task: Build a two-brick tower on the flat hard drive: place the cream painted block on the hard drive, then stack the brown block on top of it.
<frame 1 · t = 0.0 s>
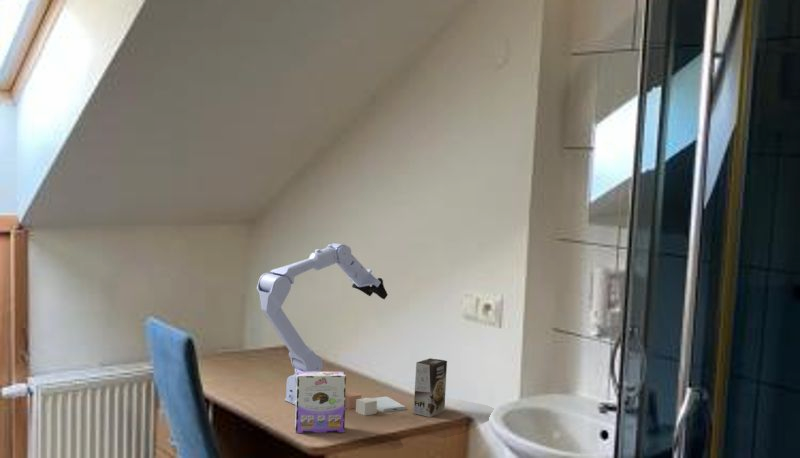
hand: (378, 295, 285), 32 cm above the table, tool tilted 50°, fingers open, 7 cm apart
coffee box: (429, 413, 263), on the table
hard drive: (385, 407, 268), on the table
brown block: (350, 406, 266), on the table
candy box: (319, 430, 240), on the table
cream block: (366, 412, 260), on the table
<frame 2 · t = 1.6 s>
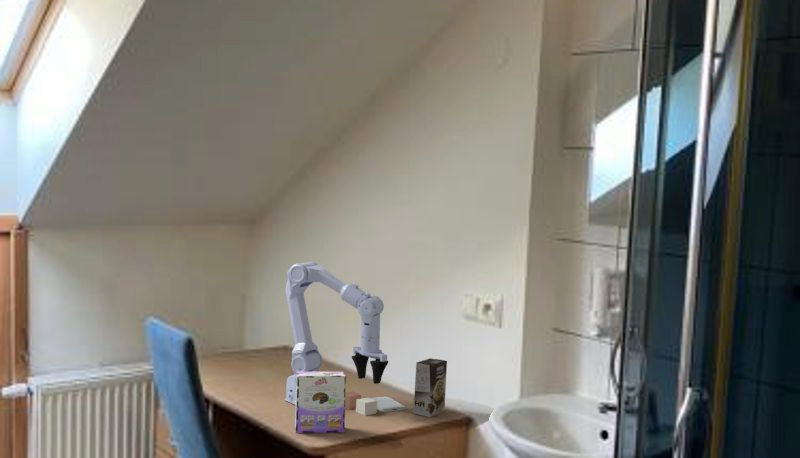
hand: (369, 380, 259), 10 cm above the table, tool pointing down, fingers open, 7 cm apart
nothing on the table moved.
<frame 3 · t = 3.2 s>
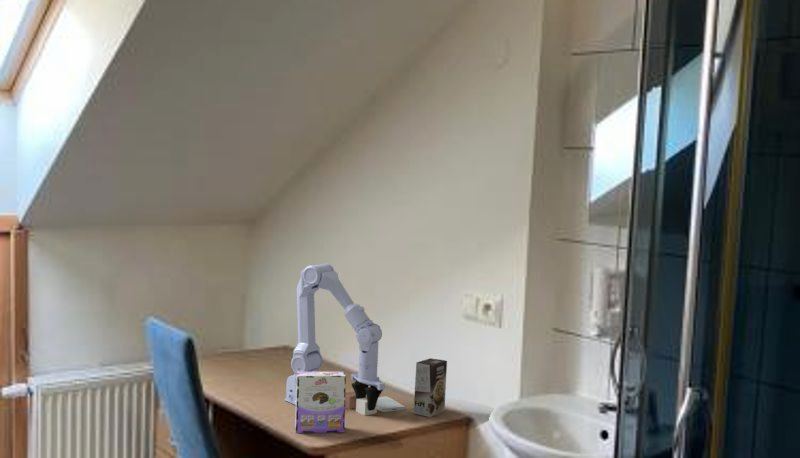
hand: (366, 407, 260), 1 cm above the table, tool pointing down, fingers closed on cream block, 4 cm apart
cream block: (366, 412, 260), on the table, touching gripper
everything else where it was.
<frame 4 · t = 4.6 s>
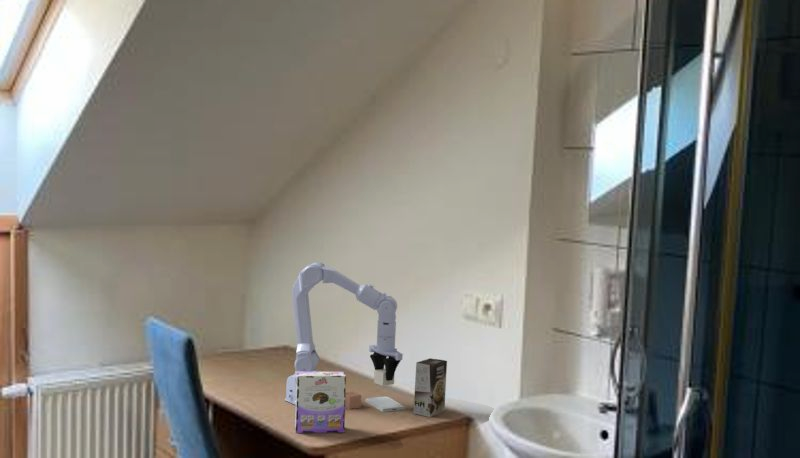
hand: (384, 378, 267), 9 cm above the table, tool pointing down, fingers closed on cream block, 4 cm apart
cream block: (384, 383, 267), point 7 cm above the table, touching gripper
everything else where it was.
when the fingers open (4 cm above the table, at t = 6.0 s): cream block drops 2 cm, resting on hard drive.
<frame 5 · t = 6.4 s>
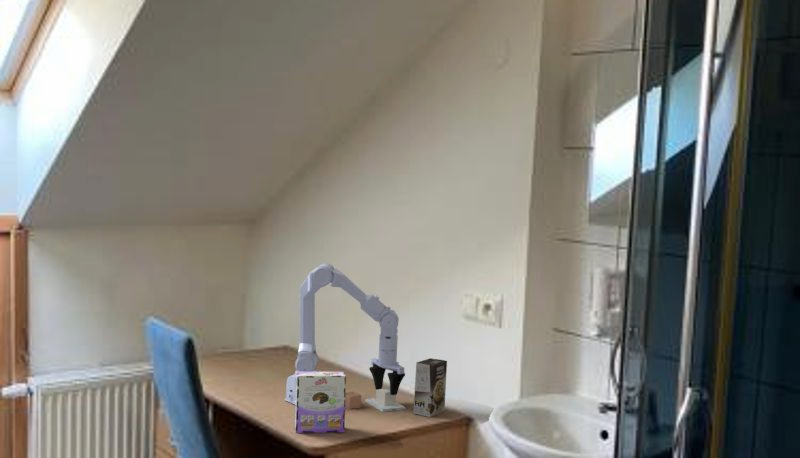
hand: (386, 391, 268), 4 cm above the table, tool pointing down, fingers open, 7 cm apart
hard drive: (385, 408, 269), on the table, touching cream block
cream block: (385, 402, 268), point 1 cm above the table, touching hard drive
everything else where it was.
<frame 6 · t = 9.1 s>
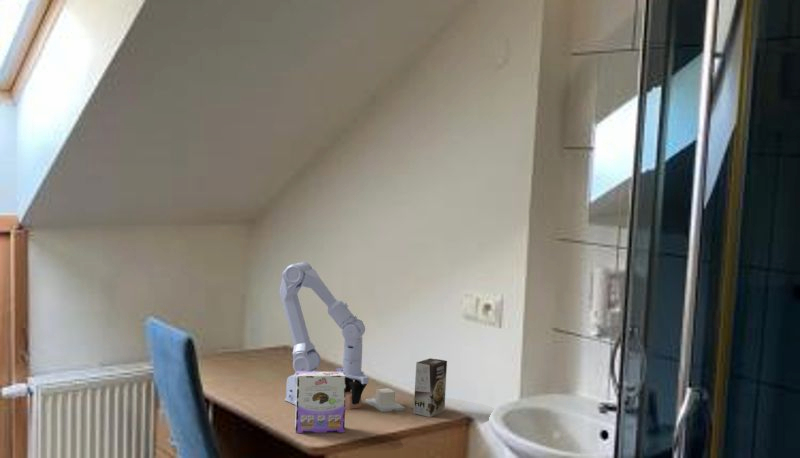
hand: (350, 401, 266), 1 cm above the table, tool pointing down, fingers closed on brown block, 4 cm apart
brown block: (350, 406, 266), on the table, touching gripper
everything else where it was.
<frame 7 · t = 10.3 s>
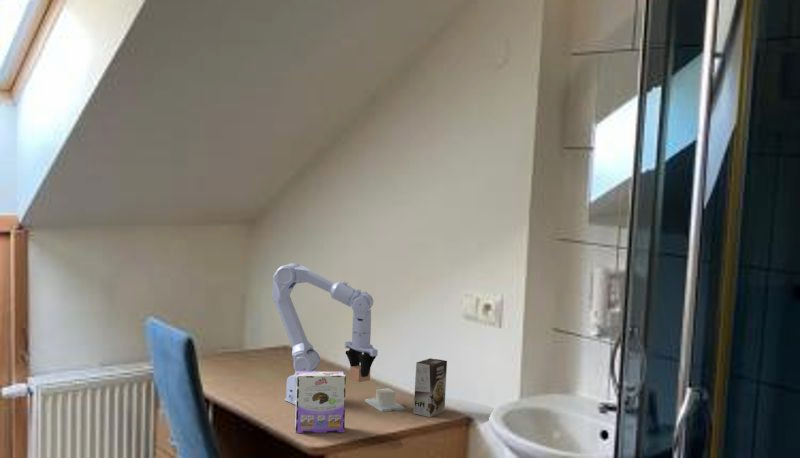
hand: (359, 374, 266), 10 cm above the table, tool pointing down, fingers closed on brown block, 4 cm apart
brown block: (359, 379, 266), point 8 cm above the table, touching gripper
everything else where it was.
when the fingers open (8 cm above the table, at t = 11.7 s): brown block drops 2 cm, resting on cream block.
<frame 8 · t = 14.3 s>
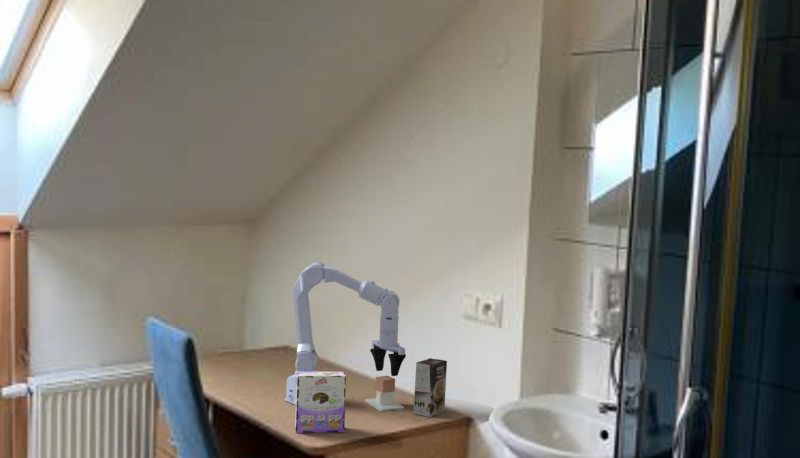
hand: (386, 373, 268), 10 cm above the table, tool pointing down, fingers open, 7 cm apart
brown block: (384, 390, 269), point 5 cm above the table, touching cream block
cream block: (384, 403, 269), point 1 cm above the table, touching hard drive, brown block
everything else where it was.
at the end: cream block inside the target area on the hard drive (0.2 cm from its centre), point 1.8 cm above the hard drive's base; brown block 0.3 cm off-centre on the cream block, point 4.0 cm above the cream block's base; brown block tilted 0° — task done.
